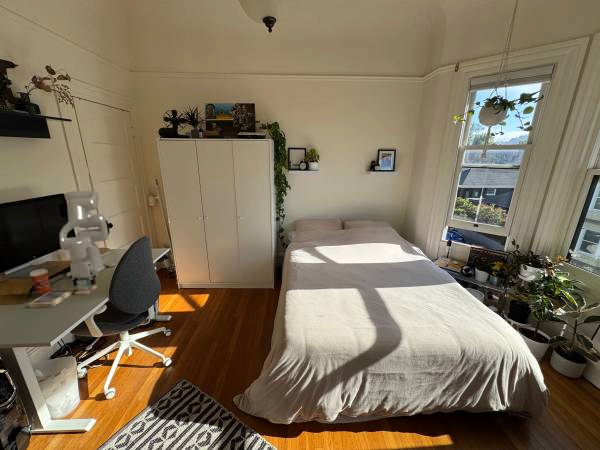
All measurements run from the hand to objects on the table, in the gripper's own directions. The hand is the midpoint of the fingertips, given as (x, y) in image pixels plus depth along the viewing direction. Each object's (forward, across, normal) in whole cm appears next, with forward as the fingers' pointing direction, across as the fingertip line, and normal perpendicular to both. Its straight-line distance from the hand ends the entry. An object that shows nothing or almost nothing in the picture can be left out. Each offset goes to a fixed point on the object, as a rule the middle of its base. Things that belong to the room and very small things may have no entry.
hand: (85, 284), depth 152 cm
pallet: (+4, 0, 0) cm, 5 cm away
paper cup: (+4, +25, -2) cm, 26 cm away
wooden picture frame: (+4, +12, +8) cm, 16 cm away
